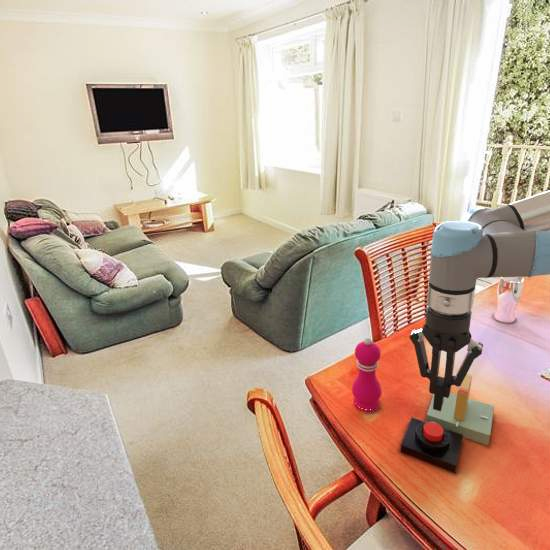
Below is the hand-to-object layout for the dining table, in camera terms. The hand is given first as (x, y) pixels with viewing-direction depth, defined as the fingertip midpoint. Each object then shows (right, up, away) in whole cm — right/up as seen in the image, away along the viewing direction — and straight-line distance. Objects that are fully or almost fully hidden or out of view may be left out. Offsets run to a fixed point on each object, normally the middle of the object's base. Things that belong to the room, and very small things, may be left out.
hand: (438, 405), depth 78 cm
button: (0, -8, +3) cm, 8 cm away
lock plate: (+10, -7, +11) cm, 16 cm away
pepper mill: (-10, -6, +18) cm, 22 cm away
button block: (+1, -11, +5) cm, 12 cm away
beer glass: (+44, +12, +49) cm, 67 cm away
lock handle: (+10, -4, +10) cm, 14 cm away
